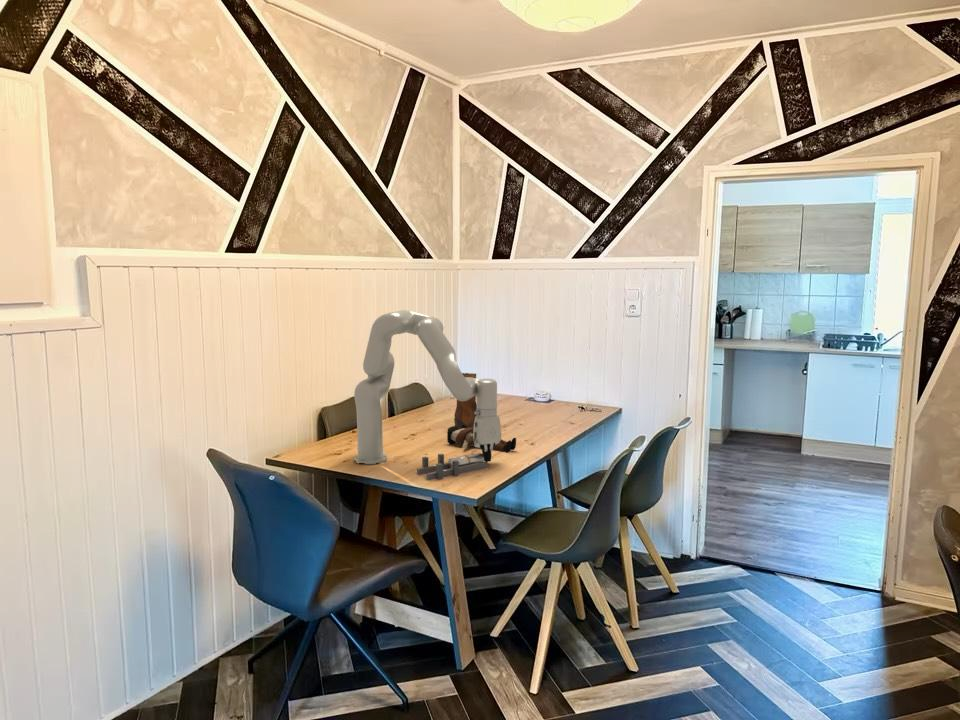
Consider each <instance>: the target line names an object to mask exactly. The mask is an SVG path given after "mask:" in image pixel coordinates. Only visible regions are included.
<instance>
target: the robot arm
mask: <svg viewBox="0 0 960 720" xmlns="http://www.w3.org/2000/svg"><path fill="white" fill-rule="evenodd" d="M444 328H445V327H444V325H443V322H442V321H441V320H440V319H439V318H437V317H435V316H430V315H427V314H422V313H419V312H414V311H411V310H396V311H391V312H387V313H384V314H382V315H380V316H378V318H376V319H375V320H374V321H373V324H372V325H371V328H370V329H371V330H370V333H369V338H368V341H367V346H366V351H365V355H364V358H363V362H362V367H363V371H364V374H366V375H367V378H365V379H363V380H361V381H360V382H359V383H358V384H357V385H356V387H355V388H354V392H353V394H354V396H353V397H354V403H355V407H356V408H355V409H356V427H357V428H356V431H357V455H355V456H354V458H353V461H354V460H355V461H356V462H359V463H365V464H364V465H377V464H376V463H378V464H382V463H384V462H386V461H387V460H388V456H387V455H386V454H385V453H384V439H383V438H384V437H383V411H382V407H381V400H382V399H383V398H385V397H386V396H387V394H388V393H389V390H390V386H391V382H392V377H393V373H394V368H395V358H394V356H393V354H392V352H391V351H390V350H391V346H392V339H393V336H396V335H400V334H401V335H402V334H405V333H406V334H411V335H414V336H417V337H418V338H419V340H420V342H421V344H422V345H423V346H424V348H425V349H426V351H427V352H428V353H429V355H430V357H431V358H432V359H433V361H434V364H435V365H436V367H437V370H438V372H439V376H440V377H441V379H442V381H443V383H444V385H445V386H446V388H447V389H448V391H449V392H450V393H451V395H452V396H453V397H454V398H455V399H456V401H457V400H459V401H467V400H469V399H470V398H472V397H474V396H476V404H477V409H476V411H474V414H475V415H477V416H476V417H475V421H474V429H473V441H474V442H475V443H474V445H473V446H474V447H475V448H479V449H480V450H481V452H482V454H483V456H484V462H488V463H489V462H492V451H494V450H493V447H494V446H495V445H496V444H498V443H499V441H500V440H501V439H502V427H501V425H502V424H501V419H500V416H499V415H498V382H497V381H496V380H495V379H493V378H477V377H476V378H471V377H464V376H463V374H462V373H463V372H462V371H461V370H460V367H459V365H458V362H457V353H456V350H455V349H454V347H453V345H452V344H451V342H450V341H449V340H448V338H447V336H446V335H445V333H444ZM355 461H354V462H355ZM356 462H355V463H356ZM381 462H382V463H381ZM359 463H358V464H359Z"/></svg>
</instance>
